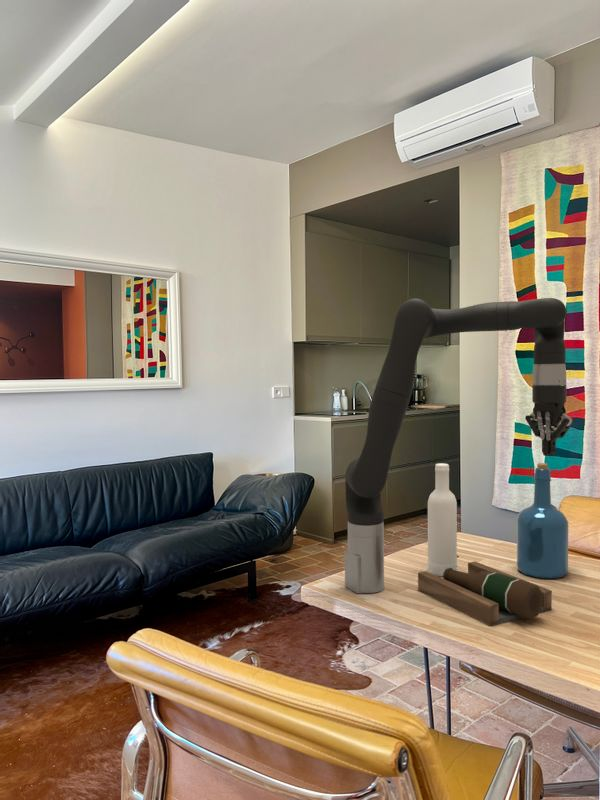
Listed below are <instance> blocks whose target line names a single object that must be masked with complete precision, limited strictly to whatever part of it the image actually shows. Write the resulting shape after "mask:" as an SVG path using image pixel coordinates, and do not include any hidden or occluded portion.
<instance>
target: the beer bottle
mask: <svg viewBox="0 0 600 800" xmlns="http://www.w3.org/2000/svg"><path fill="white" fill-rule="evenodd" d="M442 577H443V579H445V580H447V581H449V582H451V583H454V584H456V585H458V586H460V587H463V588H465V589H467V590H469V591H471V592H474V593H476V594H478V595H480V596H483V597H485V598H487V599H489V600H492V601H494V602H496V603H498V604H499V610H502V611H505V612H508V613H511V614H514V615H516V616H519V617H522V618H523V619H526V620H531V619H533V618H535V617H538V615H539V614H540V613H539V612H540V609H541V607H542V605H543V593H542V591H541V590H540V589H539V587H538V586H539V585H538V584H536V585H535V583H533V582H530V581H528V582H527V580H525V581H523V580H524V579H523V580H520V579H521V578H520V579H516V578H513V577H510V576H506V575H503V574H499V573H496V572H491V571H483V572H480V573H477V574H469V573H468V572H464V571H462V570H461V571H459V570H457V571H456V570H453V569H452V568H448V569H445V571H444V573H443V576H442ZM537 585H538V586H537Z"/></svg>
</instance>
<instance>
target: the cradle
mask: <svg viewBox="0 0 600 800" xmlns="http://www.w3.org/2000/svg"><path fill="white" fill-rule="evenodd" d="M483 571H491V572H496V573H499V574H503V575H506V576H510V577H513V578H516V579H520V580H523V581H527V580H525V579H522V578H519V577H517V576H515V575H511V574H510V573H506V572H504V571H502V570H498V569H496V568H494V567H492V566H488V565H486V564H484V563H480V562H478V561H469V562H467V573H469V574H477V573H480V572H483ZM417 579H418V580H417V586H418V588H417V590H418V592H421V593H423V594H425V595H427V596H429V597H430V598H433V599H434V600H438V601H439V602H441V603H443V604H445V605H447V606H449V607H450V608H452V609H455V610H457V611H459V612H461V613H464V614H465V615H467V616H469V617H472V618H474V619H475V620H477V621H479V622H481V623H484V624H485V625H487V626H489V627H491V626H495V625H500V624H502V623H506V622H511V621H514V620H515V621H516V620H518V619H521V618H522V617H519V616H516V615H514V614H511V613H508V612H505V611H502V610H499V604H498V603H496V602H494V601H492V600H489V599H487V598H485V597H483V596H480V595H478V594H476V593H474V592H471V591H469V590H467V589H465V588H463V587H460V586H458V585H456V584H454V583H451V582H449V581H447V580H445V579H443V578H442V577H441V576H436V575H434V574H431V573H429V572H428V570H427V571H426V570H425V571H420V572H418V573H417ZM527 582H529V581H527ZM534 584H535V583H534ZM535 585H537V586H538V587H539V589H540V590H541V591H542V593H543V605H542V607H541V609H540V612H539V614H541V613H546V612H549V611H552V609H553V608H552V607H553V606H552V605H553V604H552V599H553V597H552V595H553V591H552V590H551V589H549V588H546V587H543V586H540V585H538V584H535Z"/></svg>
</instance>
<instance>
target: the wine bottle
mask: <svg viewBox="0 0 600 800" xmlns="http://www.w3.org/2000/svg"><path fill="white" fill-rule="evenodd" d="M536 466H537V467H535V469H534V477H533V481H534V491H533V502H532V505H530V506H528V507H525V508H523V509H521V511H520V512H519V513H518V514H517V517H516V518H517V519H516V566H517V569H518V571H519V572H520V573H522V574H524V575H526V576H530V577H534V578H538V579H556V578H557V579H558V578H563V577H564V576H567V574H568V573H569V521H568V519H567V516H565V514H564V513H563V512H562V511H561V510H559V509H558V508H557V507H556V506H555V505H553V504H552V500H551V498H552V497H551V496H552V495H551V494H552V493H551V482H552V478H551V470H550V468H549V464H548V463H545V462H538V463H537V465H536Z"/></svg>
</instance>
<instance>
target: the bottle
mask: <svg viewBox="0 0 600 800" xmlns="http://www.w3.org/2000/svg"><path fill="white" fill-rule="evenodd" d="M434 467H435V468H434V473H435V480H434V481H435V483H434V484H435V487H434V490H433V491H432V492H431V493H430V495H429V496H428V497H429V498H428V500H427V572H429V573H431V574H434V575H436V576H438V577H443V573H444V571H445V569H448V568H452V569H453V570H456V571H458V569H457V568H458V558H457V556H458V555H457V554H458V551H457V550H458V544H457V542H458V539H457V538H458V526H457V525H458V523H457V522H458V517H457V515H458V513H457V512H458V511H457V510H458V502H457V499H456V496H455V494H454V493H453V492H452V491H451V490H450V465H449V464H448V463H441V462H440V463H435V466H434Z"/></svg>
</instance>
